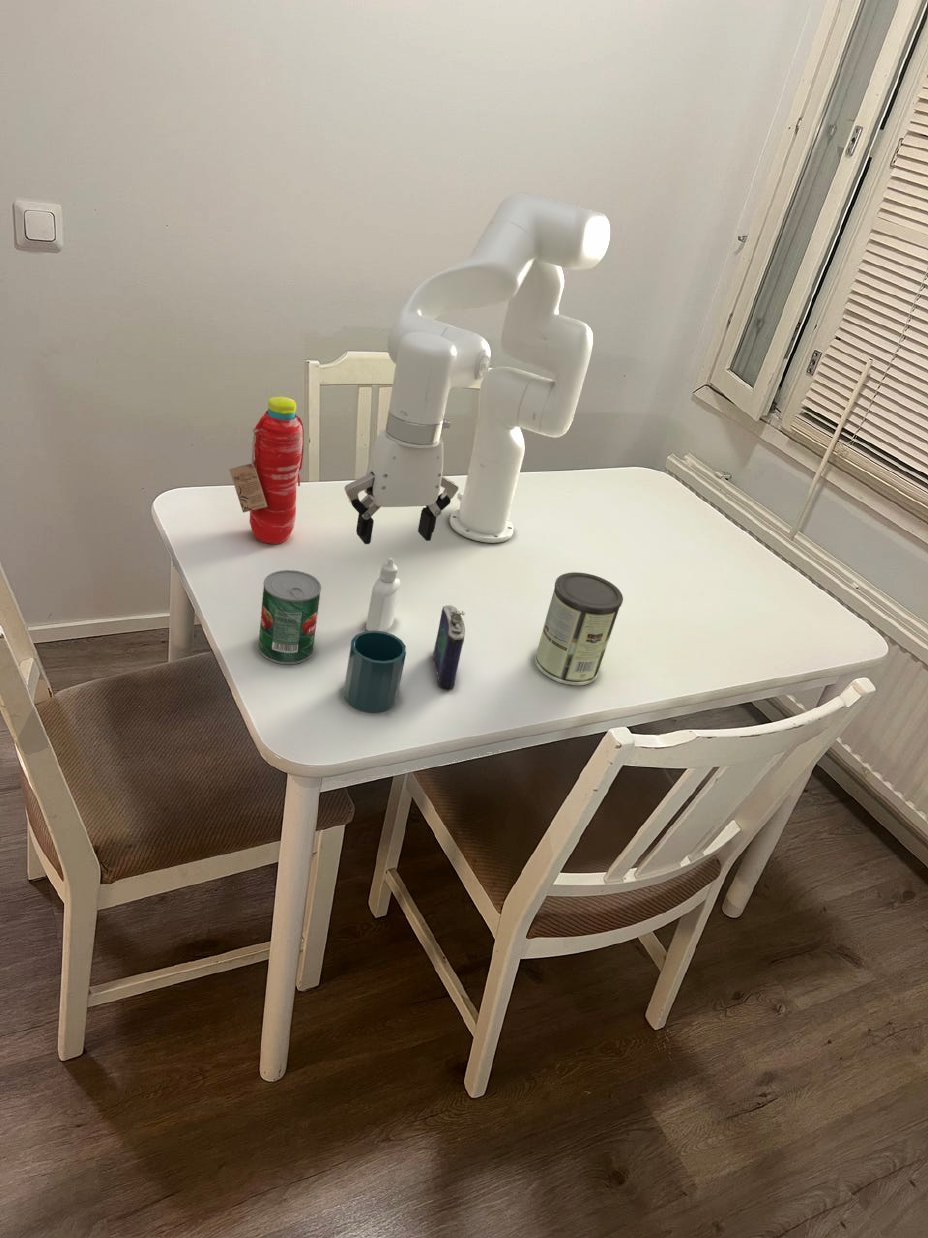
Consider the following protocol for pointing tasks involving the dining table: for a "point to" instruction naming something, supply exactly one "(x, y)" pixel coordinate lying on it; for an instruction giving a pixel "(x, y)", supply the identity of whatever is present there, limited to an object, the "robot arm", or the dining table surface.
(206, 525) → the dining table surface
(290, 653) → the canned tomato
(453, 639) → the flask
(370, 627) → the eye dropper bottle
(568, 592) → the coffee can
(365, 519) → the robot arm
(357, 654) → the teal cup
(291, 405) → the water bottle
